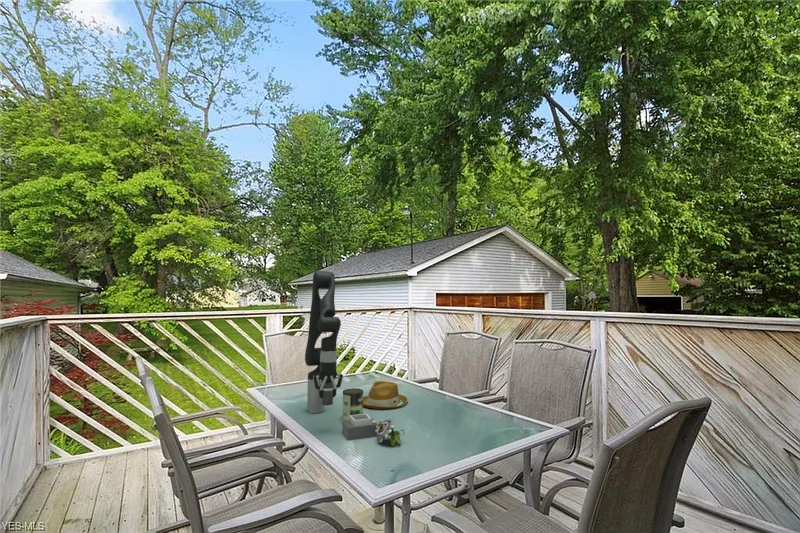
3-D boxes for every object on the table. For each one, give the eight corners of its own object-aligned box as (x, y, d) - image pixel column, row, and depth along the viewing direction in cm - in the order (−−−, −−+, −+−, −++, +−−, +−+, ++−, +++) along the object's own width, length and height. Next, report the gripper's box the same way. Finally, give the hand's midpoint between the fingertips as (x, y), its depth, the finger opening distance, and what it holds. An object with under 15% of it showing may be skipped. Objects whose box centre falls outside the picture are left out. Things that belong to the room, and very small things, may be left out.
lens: (320, 402, 184) (321, 380, 184) (331, 401, 186) (332, 380, 186) (322, 405, 179) (323, 383, 180) (334, 404, 181) (334, 382, 181)
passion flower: (379, 456, 168) (368, 428, 173) (401, 445, 173) (389, 419, 179) (388, 448, 160) (376, 420, 165) (410, 438, 165) (398, 411, 171)
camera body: (342, 432, 180) (342, 415, 180) (371, 428, 185) (371, 412, 186) (347, 440, 171) (347, 422, 171) (378, 435, 176) (378, 418, 176)
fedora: (348, 404, 225) (349, 383, 225) (383, 394, 246) (383, 375, 247) (383, 414, 207) (383, 391, 208) (417, 402, 229) (417, 381, 230)
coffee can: (365, 416, 202) (365, 388, 203) (359, 423, 192) (359, 393, 193) (346, 415, 204) (346, 387, 205) (339, 421, 194) (339, 392, 195)
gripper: (341, 358, 189) (341, 394, 189) (311, 359, 184) (310, 396, 183) (345, 360, 182) (344, 398, 182) (314, 362, 177) (313, 401, 176)
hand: (327, 397), depth 183 cm, fingers closed on lens, 5 cm apart
